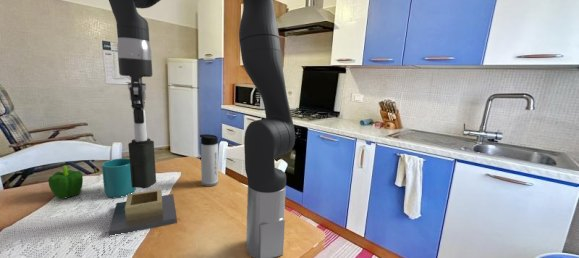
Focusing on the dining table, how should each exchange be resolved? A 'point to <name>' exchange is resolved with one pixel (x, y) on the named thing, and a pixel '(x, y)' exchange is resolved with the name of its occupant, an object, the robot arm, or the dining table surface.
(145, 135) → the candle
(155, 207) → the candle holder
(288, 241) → the dining table surface
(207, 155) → the travel mug
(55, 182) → the bell pepper
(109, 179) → the cup
